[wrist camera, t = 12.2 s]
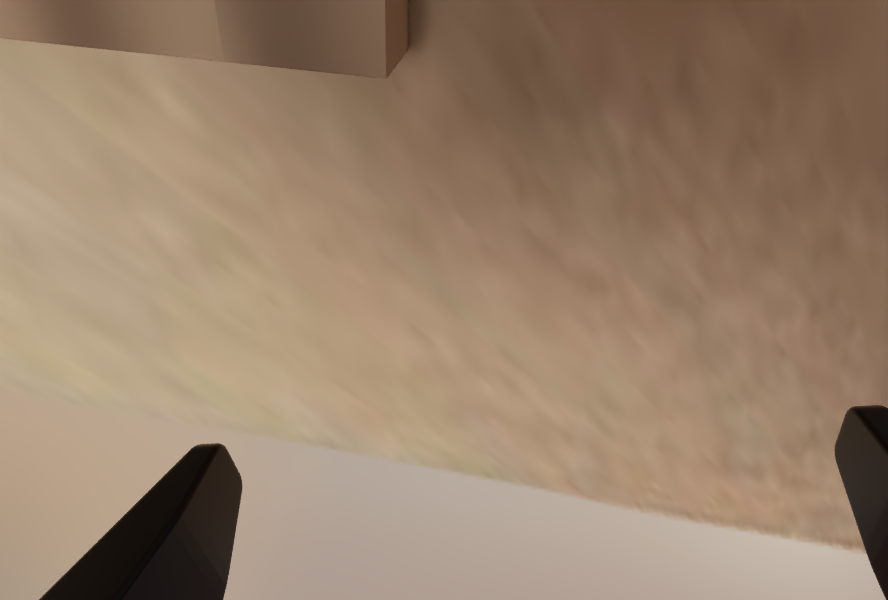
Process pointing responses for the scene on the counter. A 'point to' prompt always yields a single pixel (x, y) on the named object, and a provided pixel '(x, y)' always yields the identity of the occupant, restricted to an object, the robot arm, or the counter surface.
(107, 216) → the counter surface
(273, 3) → the brown wooden tray
